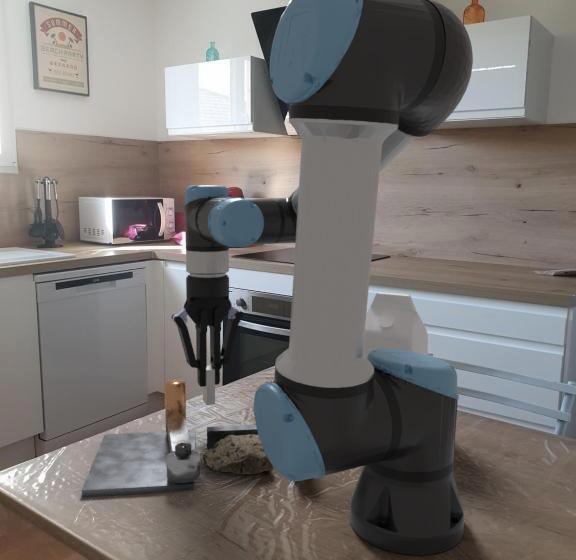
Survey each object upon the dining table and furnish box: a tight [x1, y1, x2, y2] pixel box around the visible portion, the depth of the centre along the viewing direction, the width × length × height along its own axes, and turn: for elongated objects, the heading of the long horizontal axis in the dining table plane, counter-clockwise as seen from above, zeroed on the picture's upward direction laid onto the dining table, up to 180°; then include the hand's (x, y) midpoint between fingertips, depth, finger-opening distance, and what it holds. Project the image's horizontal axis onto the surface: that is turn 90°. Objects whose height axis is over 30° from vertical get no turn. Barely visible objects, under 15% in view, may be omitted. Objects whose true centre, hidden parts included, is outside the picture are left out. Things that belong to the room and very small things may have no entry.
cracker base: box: [81, 424, 258, 498], centre depth 97 cm, size 20×34×7 cm, turn 98°
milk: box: [363, 291, 429, 358], centre depth 108 cm, size 12×12×26 cm
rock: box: [202, 434, 274, 476], centre depth 96 cm, size 11×11×4 cm
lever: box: [164, 378, 201, 483], centre depth 96 cm, size 21×5×9 cm, turn 14°
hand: (208, 402), depth 107 cm, fingers closed
